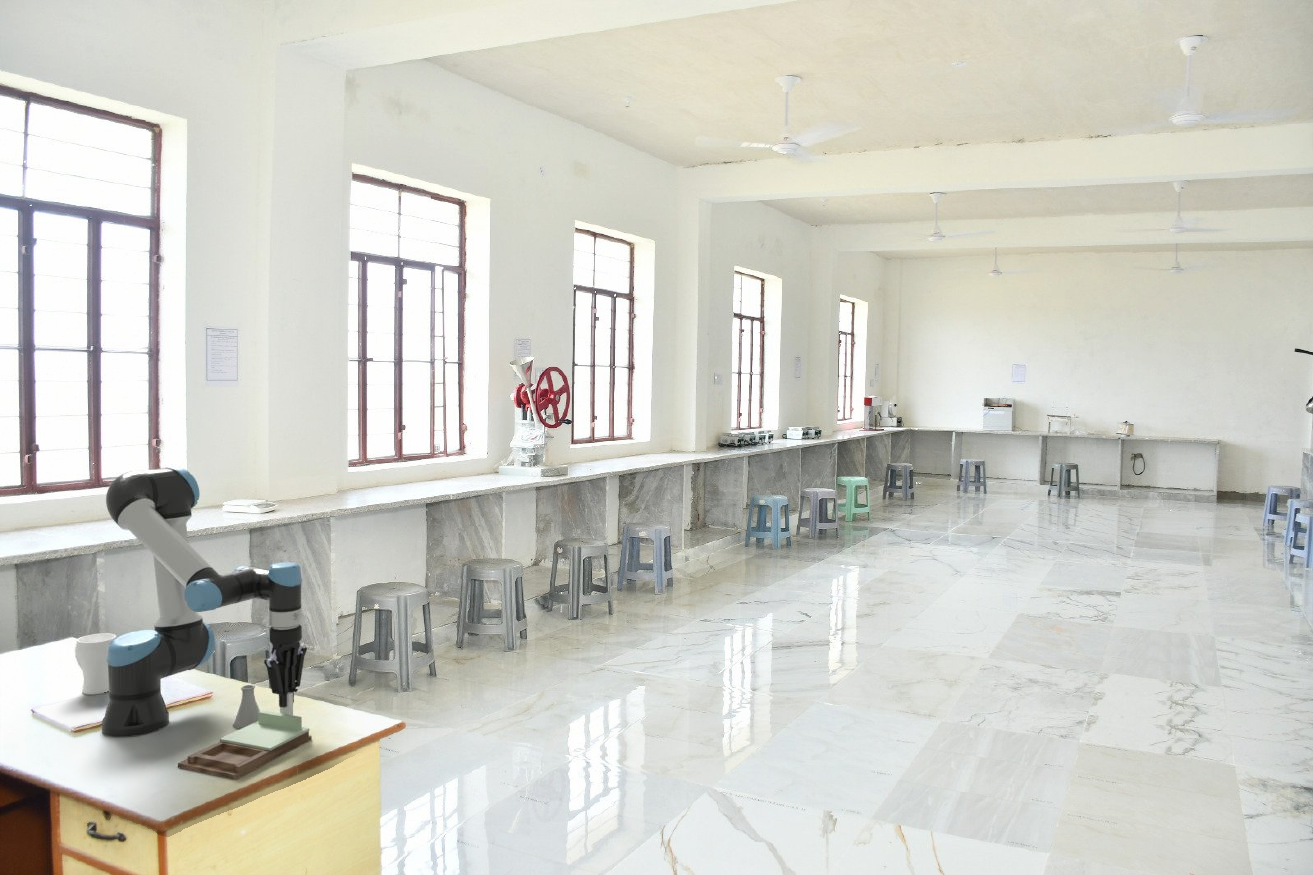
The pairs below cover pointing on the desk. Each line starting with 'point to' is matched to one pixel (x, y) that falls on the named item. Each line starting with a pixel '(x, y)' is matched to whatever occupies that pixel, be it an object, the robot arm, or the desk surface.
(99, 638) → the cup
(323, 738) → the desk surface
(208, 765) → the tray
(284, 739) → the cover
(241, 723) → the flask
